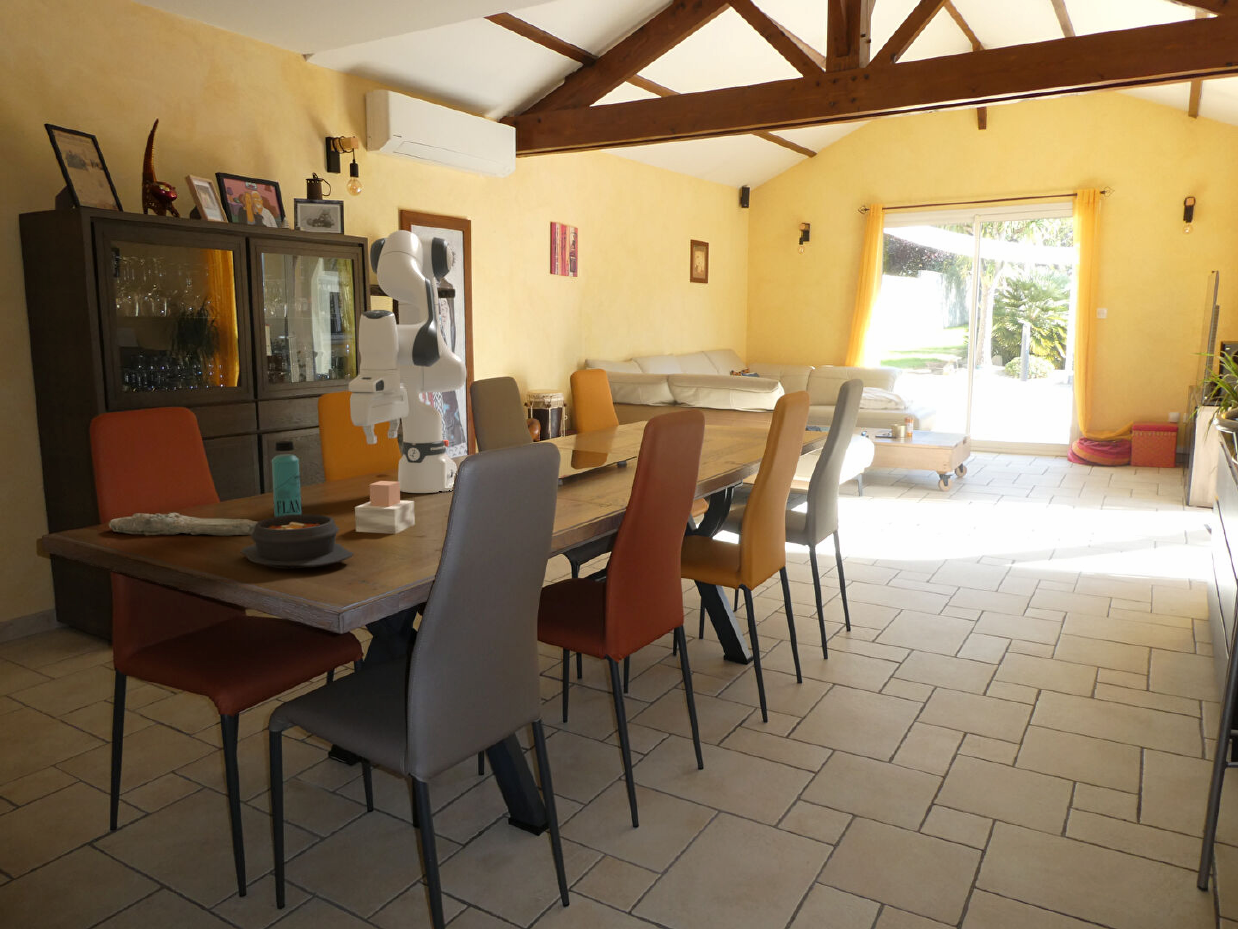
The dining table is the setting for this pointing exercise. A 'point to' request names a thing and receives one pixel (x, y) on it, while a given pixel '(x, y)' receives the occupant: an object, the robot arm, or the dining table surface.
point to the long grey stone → (180, 525)
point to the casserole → (296, 542)
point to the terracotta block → (384, 493)
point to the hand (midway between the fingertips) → (382, 440)
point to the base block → (385, 517)
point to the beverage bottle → (286, 481)
